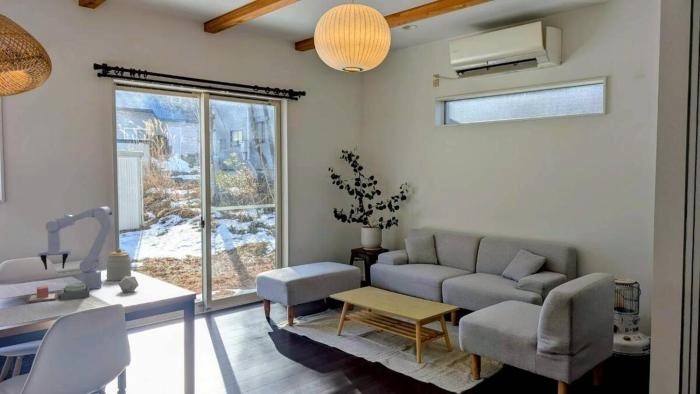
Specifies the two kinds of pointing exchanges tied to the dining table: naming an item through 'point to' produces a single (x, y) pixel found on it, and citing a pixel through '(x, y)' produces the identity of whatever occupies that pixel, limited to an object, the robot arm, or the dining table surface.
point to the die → (128, 284)
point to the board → (34, 298)
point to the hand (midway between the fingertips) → (54, 268)
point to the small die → (42, 292)
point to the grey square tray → (74, 294)
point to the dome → (75, 287)
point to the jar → (118, 265)
